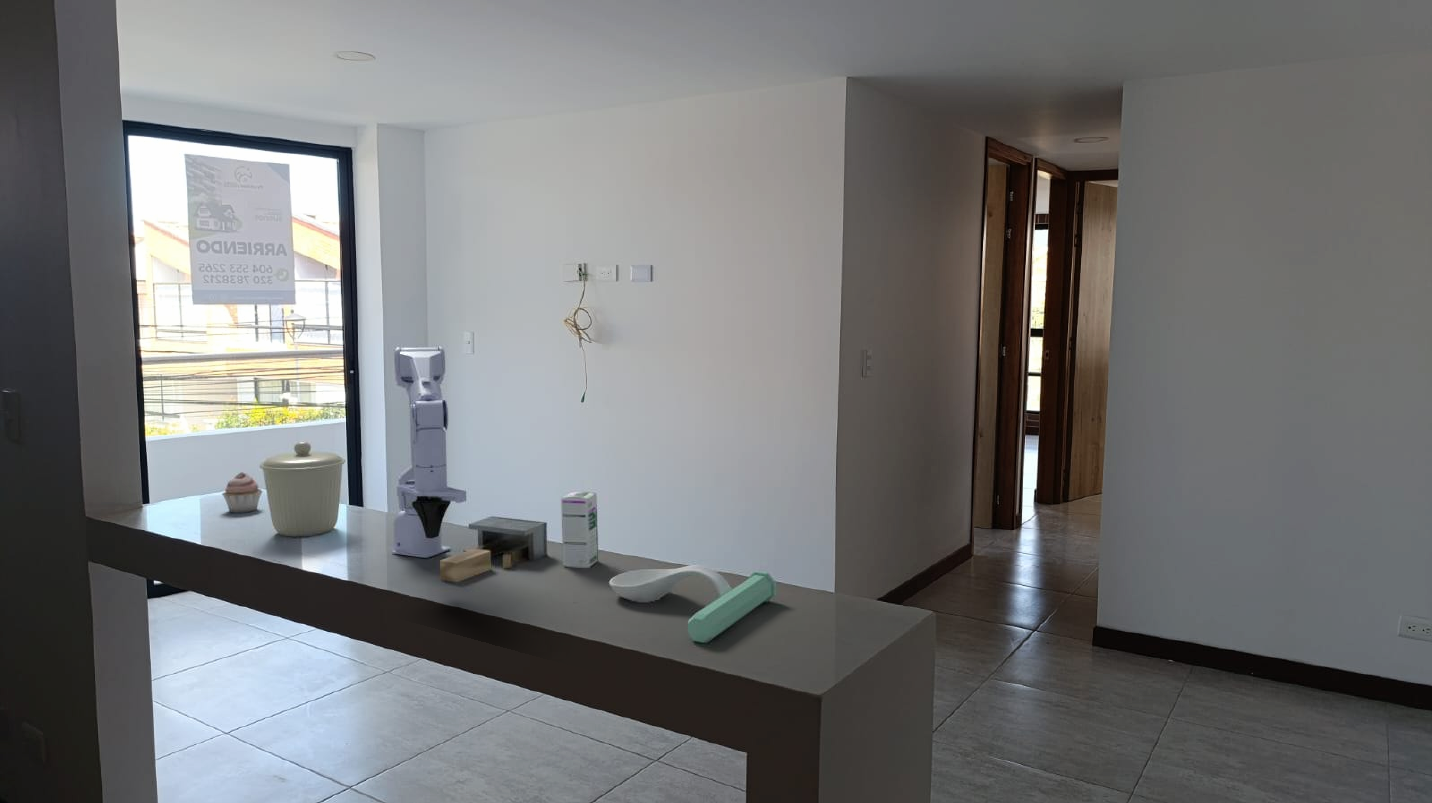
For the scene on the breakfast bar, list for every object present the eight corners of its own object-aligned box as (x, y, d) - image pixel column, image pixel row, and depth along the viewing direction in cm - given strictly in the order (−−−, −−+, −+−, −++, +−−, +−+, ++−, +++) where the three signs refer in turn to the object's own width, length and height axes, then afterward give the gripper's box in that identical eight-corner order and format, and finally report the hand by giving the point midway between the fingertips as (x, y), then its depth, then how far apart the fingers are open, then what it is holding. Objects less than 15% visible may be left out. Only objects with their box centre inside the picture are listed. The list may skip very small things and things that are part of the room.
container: (705, 609, 147) (770, 566, 169) (675, 617, 150) (742, 575, 172) (718, 645, 147) (781, 598, 169) (687, 653, 150) (753, 605, 172)
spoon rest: (597, 602, 170) (597, 563, 169) (630, 585, 180) (630, 548, 179) (716, 622, 160) (717, 580, 159) (744, 602, 170) (744, 563, 169)
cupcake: (221, 516, 234) (219, 476, 233) (224, 508, 243) (222, 470, 242) (262, 512, 238) (260, 473, 237) (264, 505, 247) (262, 467, 246)
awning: (456, 561, 194) (455, 528, 194) (492, 547, 205) (492, 516, 205) (513, 569, 189) (512, 535, 188) (547, 554, 200) (546, 522, 199)
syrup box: (589, 568, 190) (588, 497, 188) (561, 566, 191) (560, 496, 190) (598, 561, 195) (598, 492, 194) (571, 559, 197) (570, 490, 195)
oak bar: (440, 580, 182) (440, 560, 182) (475, 567, 191) (474, 548, 191) (456, 583, 180) (456, 563, 180) (490, 570, 189) (490, 550, 189)
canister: (356, 534, 216) (353, 443, 214) (270, 545, 206) (265, 450, 204) (337, 519, 231) (334, 434, 229) (256, 529, 221) (252, 440, 219)
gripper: (384, 465, 174) (386, 537, 175) (447, 471, 168) (449, 546, 169) (410, 459, 180) (412, 529, 182) (472, 465, 174) (474, 537, 176)
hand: (432, 537), depth 176 cm, fingers closed
